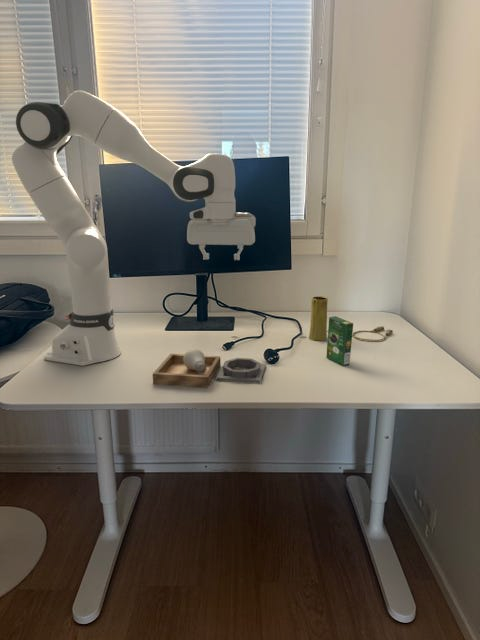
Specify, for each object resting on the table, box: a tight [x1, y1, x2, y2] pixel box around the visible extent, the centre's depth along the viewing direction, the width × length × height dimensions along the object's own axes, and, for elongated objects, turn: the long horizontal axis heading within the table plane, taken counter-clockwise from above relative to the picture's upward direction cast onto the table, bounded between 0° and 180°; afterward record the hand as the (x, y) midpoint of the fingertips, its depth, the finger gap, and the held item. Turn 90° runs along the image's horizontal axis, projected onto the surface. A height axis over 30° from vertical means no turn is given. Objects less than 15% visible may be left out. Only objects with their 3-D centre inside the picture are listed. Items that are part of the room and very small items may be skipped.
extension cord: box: [352, 325, 394, 343], centre depth 154 cm, size 12×16×2 cm
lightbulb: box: [183, 348, 206, 373], centre depth 122 cm, size 6×6×11 cm
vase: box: [308, 295, 328, 342], centre depth 150 cm, size 6×6×14 cm
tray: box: [152, 353, 221, 389], centre depth 122 cm, size 15×15×3 cm
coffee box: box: [326, 316, 354, 367], centre depth 129 cm, size 8×3×13 cm, turn 28°
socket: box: [215, 357, 267, 384], centre depth 123 cm, size 12×12×2 cm
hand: (221, 259), depth 133 cm, fingers open, 8 cm apart
